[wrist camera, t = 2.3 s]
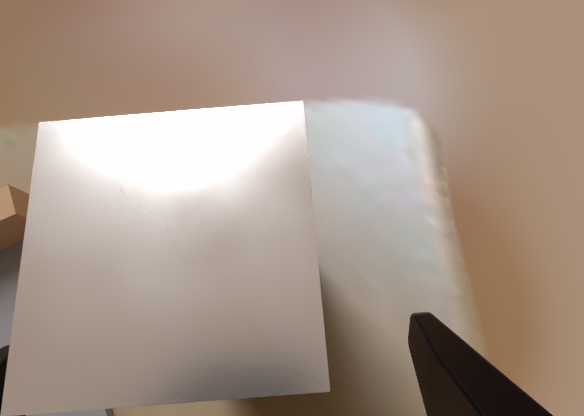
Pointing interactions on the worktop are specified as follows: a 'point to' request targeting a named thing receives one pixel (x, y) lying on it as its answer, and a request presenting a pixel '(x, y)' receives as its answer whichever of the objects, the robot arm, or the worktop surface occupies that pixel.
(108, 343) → the aluminium post
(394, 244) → the worktop surface
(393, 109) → the worktop surface
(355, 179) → the worktop surface
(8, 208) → the corner arena
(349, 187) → the worktop surface
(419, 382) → the robot arm
